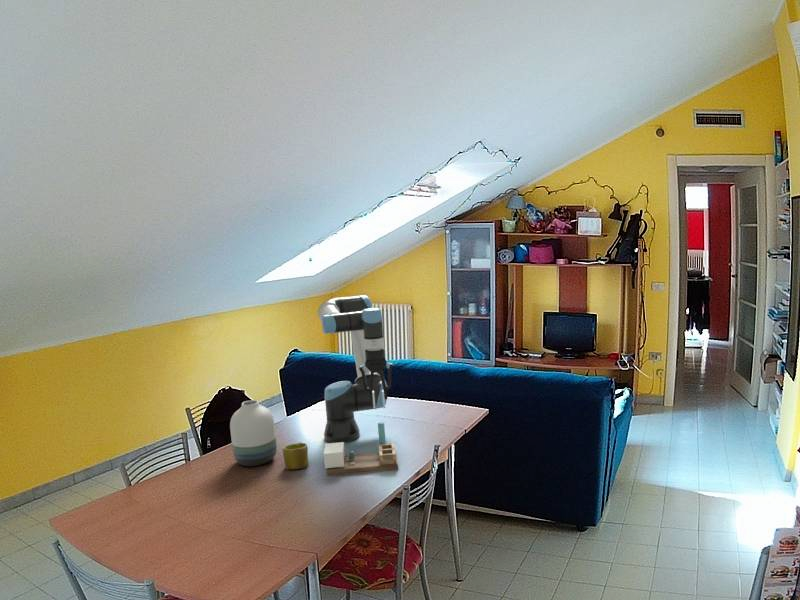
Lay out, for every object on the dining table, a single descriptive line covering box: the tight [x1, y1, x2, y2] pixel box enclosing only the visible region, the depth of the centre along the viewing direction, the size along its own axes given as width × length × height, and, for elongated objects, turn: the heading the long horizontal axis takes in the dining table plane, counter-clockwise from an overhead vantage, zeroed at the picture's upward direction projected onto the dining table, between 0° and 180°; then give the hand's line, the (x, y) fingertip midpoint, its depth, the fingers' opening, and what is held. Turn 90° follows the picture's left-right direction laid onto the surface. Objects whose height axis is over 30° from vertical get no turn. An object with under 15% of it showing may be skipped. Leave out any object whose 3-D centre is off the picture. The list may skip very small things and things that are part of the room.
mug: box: [282, 441, 309, 471], centre depth 236 cm, size 12×10×10 cm
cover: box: [323, 442, 346, 469], centre depth 230 cm, size 10×7×6 cm
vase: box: [229, 399, 278, 467], centre depth 242 cm, size 17×17×24 cm
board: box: [326, 442, 399, 477], centre depth 231 cm, size 13×26×6 cm, turn 93°
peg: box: [377, 421, 387, 446], centre depth 242 cm, size 2×2×12 cm
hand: (379, 407), depth 240 cm, fingers open, 3 cm apart
